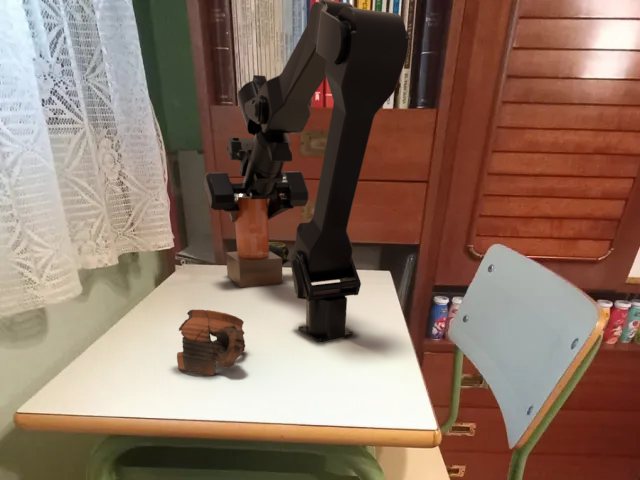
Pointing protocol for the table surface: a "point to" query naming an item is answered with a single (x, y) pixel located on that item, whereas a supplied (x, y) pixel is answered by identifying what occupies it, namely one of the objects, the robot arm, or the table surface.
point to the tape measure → (279, 249)
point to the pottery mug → (198, 342)
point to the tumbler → (252, 228)
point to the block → (254, 270)
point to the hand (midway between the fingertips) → (249, 219)
